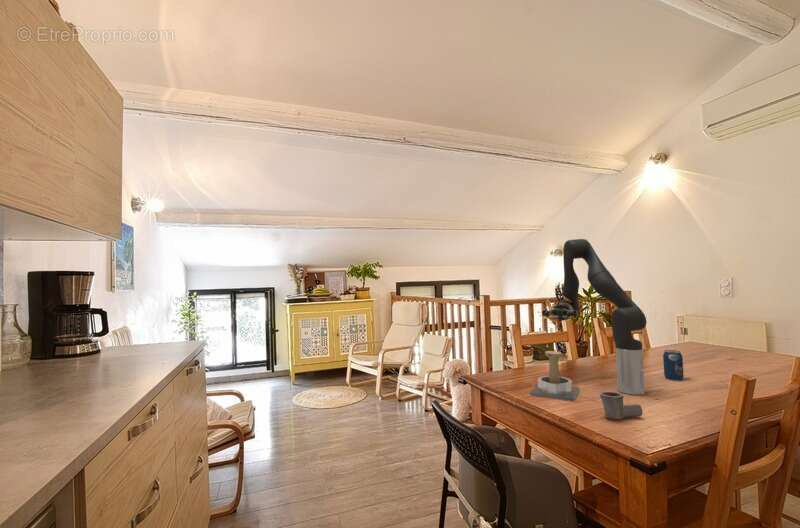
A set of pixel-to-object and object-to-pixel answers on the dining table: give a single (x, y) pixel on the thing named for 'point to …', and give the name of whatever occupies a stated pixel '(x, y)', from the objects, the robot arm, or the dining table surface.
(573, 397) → the duct collar
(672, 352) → the soda can
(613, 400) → the pipe
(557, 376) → the grey upright column
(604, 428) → the dining table surface
